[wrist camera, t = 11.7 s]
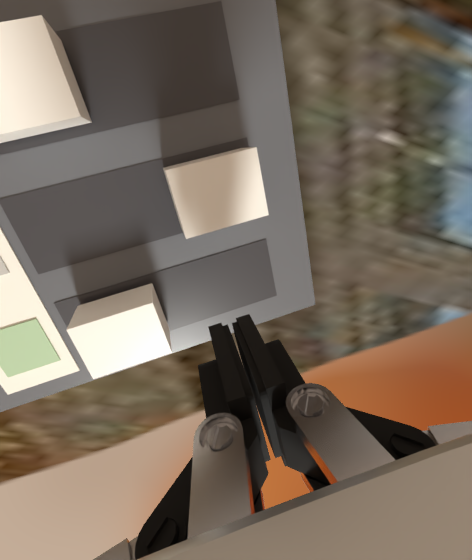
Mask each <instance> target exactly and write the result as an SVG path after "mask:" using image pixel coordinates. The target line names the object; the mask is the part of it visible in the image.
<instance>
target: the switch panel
mask: <svg viewBox="0 0 472 560" xmlns="http://www.w3.org/2000/svg"><path fill="white" fill-rule="evenodd" d="M39 15H42V16H43V18H44V19H45V20H46V21H47V23H48V24H49V25H50V27H51V28H52V29H53V30H54V32H55V33H56V34H57V35H58V37H59V38H60V39H61V41H62V44H63V47H64V49H65V52H66V55H67V57H68V60H69V63H70V65H71V68H72V71H73V73H74V76H75V79H76V81H77V84H78V87H79V89H80V92H81V95H82V97H83V100H84V103H85V105H86V108H87V111H88V113H89V116H90V119H91V121H92V123H87V124H83V125H78V126H74V127H70V128H65V129H61V130H56V131H52V132H48V133H43V134H39V135H34V136H30V137H25V138H21V139H17V140H12V141H8V142H3V143H0V412H2V411H5V410H8V409H11V408H14V407H17V406H19V405H22V404H25V403H28V402H31V401H34V400H37V399H40V398H43V397H46V396H49V395H52V394H55V393H58V392H60V391H63V390H66V389H69V388H72V387H75V386H78V385H81V384H84V383H87V382H90V381H93V380H96V379H98V378H96V379H93V378H92V376H91V374H90V373H89V371H88V369H87V367H86V365H85V363H84V362H83V360H82V358H81V356H80V354H79V352H78V351H77V349H76V347H75V345H74V343H73V341H72V340H71V338H70V336H69V334H68V332H67V327H68V325H69V323H70V321H71V319H72V317H73V315H74V312H75V310H76V308H77V306H79V305H82V304H85V303H89V302H92V301H95V300H98V299H102V298H105V297H108V296H111V295H115V294H118V293H121V292H125V291H128V290H131V289H134V288H138V287H141V286H144V285H147V284H151V283H152V284H153V287H154V289H155V292H156V295H157V297H158V300H159V303H160V305H161V308H162V311H163V313H164V316H165V319H166V321H167V324H168V327H169V332H170V341H171V349H172V353H175V352H178V351H180V350H183V349H186V348H189V347H192V346H195V345H198V344H201V343H204V342H207V341H210V340H211V336H210V332H209V328H208V327H209V326H212V325H215V324H218V323H222V326H224V325H227V324H228V326H229V329H230V332H231V333H233V332H234V330H233V326H232V323H234V322H237V321H236V318H238V317H241V316H244V315H247V314H250V316H251V318H252V320H253V322H254V324H255V325H257V324H259V323H262V322H265V321H268V320H271V319H274V318H277V317H280V316H283V315H286V314H289V313H292V312H295V311H298V310H300V309H303V308H306V307H309V306H312V305H315V298H314V291H313V283H312V275H311V268H310V260H309V252H308V245H307V237H306V230H305V222H304V214H303V207H302V199H301V192H300V184H299V176H298V169H297V161H296V153H295V146H294V138H293V131H292V123H291V115H290V108H289V100H288V92H287V85H286V77H285V70H284V62H283V54H282V47H281V39H280V31H279V24H278V16H277V9H276V1H275V0H0V22H5V21H10V20H16V19H22V18H28V17H33V16H39ZM250 147H257V152H258V158H259V163H260V169H261V175H262V180H263V186H264V191H265V197H266V202H267V208H268V214H269V215H267V216H264V217H260V218H257V219H253V220H250V221H247V222H243V223H240V224H236V225H233V226H229V227H226V228H223V229H219V230H216V231H212V232H209V233H205V234H202V235H198V236H195V237H192V238H188V239H186V238H185V235H184V233H183V231H182V228H181V225H180V222H179V219H178V216H177V212H176V209H175V206H174V203H173V199H172V196H171V193H170V189H169V186H168V183H167V180H166V176H165V173H164V170H163V168H165V167H168V166H172V165H176V164H180V163H184V162H188V161H192V160H196V159H200V158H204V157H208V156H212V155H216V154H219V153H223V152H227V151H231V150H235V149H239V148H250ZM172 353H169V354H172ZM169 354H166V355H169ZM166 355H163V356H166ZM163 356H160V357H163ZM160 357H157V358H160ZM157 358H155V359H157ZM152 360H154V359H152ZM149 361H151V360H149ZM146 362H148V361H146ZM143 363H145V362H143ZM140 364H142V363H140ZM137 365H139V364H137ZM137 365H134V366H137ZM134 366H131V367H134ZM131 367H128V368H131ZM128 368H125V369H128ZM125 369H122V370H125ZM122 370H119V371H122ZM119 371H116V372H119ZM116 372H113V373H116ZM113 373H111V374H113ZM108 375H110V374H108ZM105 376H107V375H105ZM102 377H104V376H102ZM99 378H101V377H99Z"/></svg>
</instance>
